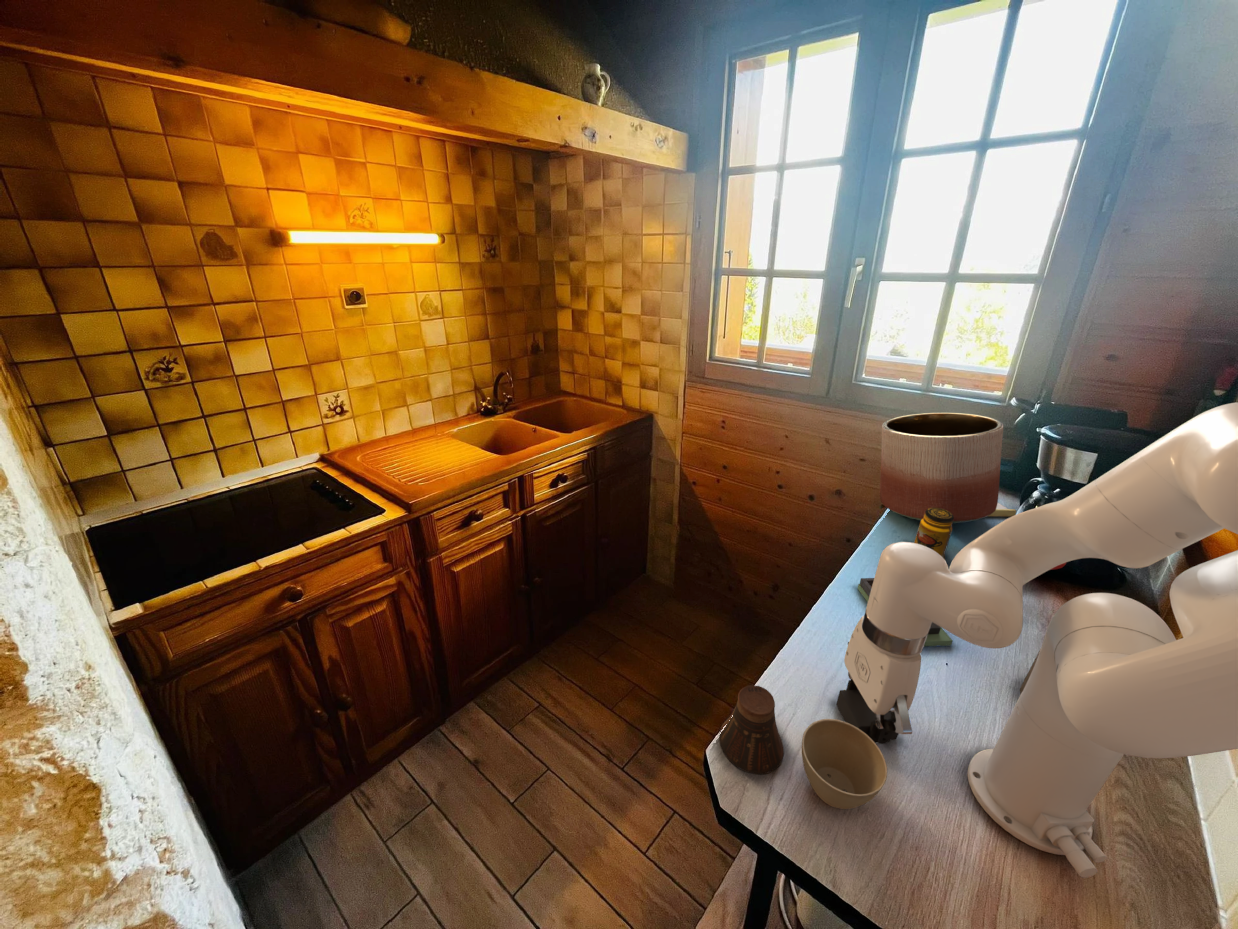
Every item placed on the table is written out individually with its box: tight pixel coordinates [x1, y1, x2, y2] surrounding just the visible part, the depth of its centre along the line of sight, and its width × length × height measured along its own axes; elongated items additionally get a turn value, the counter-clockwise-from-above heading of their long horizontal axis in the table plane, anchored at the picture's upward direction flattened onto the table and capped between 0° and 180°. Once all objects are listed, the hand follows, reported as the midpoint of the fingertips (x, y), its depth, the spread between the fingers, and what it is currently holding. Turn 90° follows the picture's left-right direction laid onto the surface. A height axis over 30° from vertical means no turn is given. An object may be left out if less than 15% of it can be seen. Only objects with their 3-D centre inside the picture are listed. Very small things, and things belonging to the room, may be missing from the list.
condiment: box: [913, 508, 954, 561], centre depth 108 cm, size 7×8×12 cm
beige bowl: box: [801, 718, 888, 810], centre depth 63 cm, size 10×10×7 cm
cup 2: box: [718, 684, 785, 775], centre depth 68 cm, size 9×9×10 cm
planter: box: [879, 412, 1004, 524], centre depth 124 cm, size 25×25×22 cm
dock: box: [857, 577, 953, 647], centre depth 94 cm, size 16×9×3 cm, turn 2°
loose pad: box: [836, 689, 900, 741], centre depth 73 cm, size 6×6×3 cm
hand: (865, 718), depth 73 cm, fingers closed on loose pad, 6 cm apart
